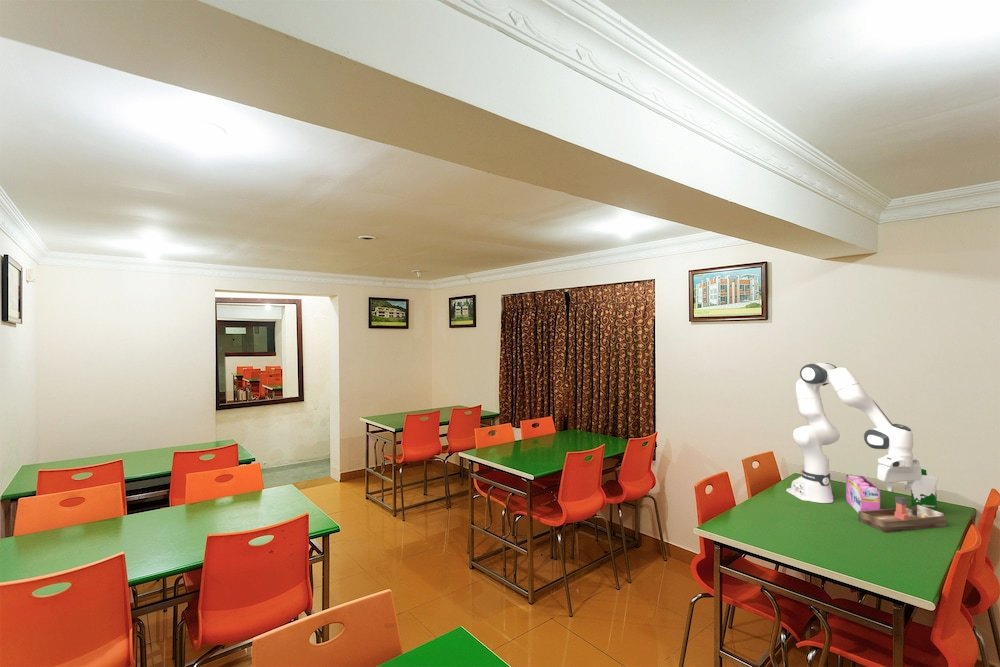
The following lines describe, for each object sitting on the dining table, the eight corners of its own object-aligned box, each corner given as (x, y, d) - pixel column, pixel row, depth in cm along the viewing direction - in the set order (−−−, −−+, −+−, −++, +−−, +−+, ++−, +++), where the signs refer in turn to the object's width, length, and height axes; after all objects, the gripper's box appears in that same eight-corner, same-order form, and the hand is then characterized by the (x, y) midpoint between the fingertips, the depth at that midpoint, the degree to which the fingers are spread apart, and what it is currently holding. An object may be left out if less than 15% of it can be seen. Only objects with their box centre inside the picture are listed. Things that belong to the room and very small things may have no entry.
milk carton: (928, 509, 234) (928, 468, 234) (941, 516, 225) (940, 474, 225) (908, 508, 236) (907, 467, 236) (919, 514, 227) (918, 473, 227)
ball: (922, 510, 221) (925, 516, 221) (916, 515, 220) (920, 521, 221) (930, 513, 217) (933, 519, 218) (924, 518, 217) (928, 524, 217)
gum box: (844, 499, 249) (844, 473, 249) (862, 501, 246) (862, 475, 246) (861, 516, 226) (860, 488, 226) (881, 518, 224) (880, 489, 224)
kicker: (894, 517, 219) (893, 496, 219) (898, 516, 219) (898, 495, 219) (903, 520, 215) (903, 499, 215) (908, 520, 215) (907, 499, 215)
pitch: (858, 521, 221) (858, 509, 221) (916, 515, 226) (916, 504, 226) (885, 532, 208) (885, 520, 208) (946, 526, 213) (946, 514, 213)
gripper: (912, 457, 222) (911, 486, 222) (874, 459, 219) (873, 489, 219) (926, 461, 216) (925, 491, 216) (887, 463, 212) (887, 494, 213)
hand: (899, 490), depth 218 cm, fingers open, 8 cm apart
